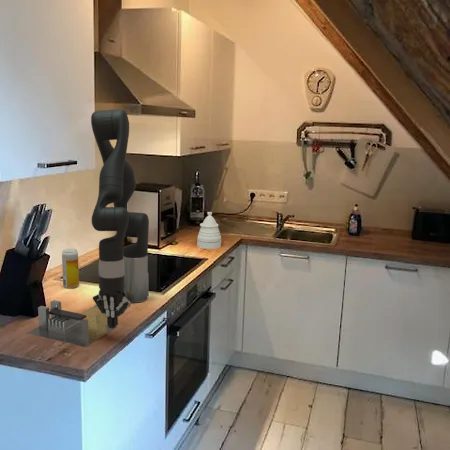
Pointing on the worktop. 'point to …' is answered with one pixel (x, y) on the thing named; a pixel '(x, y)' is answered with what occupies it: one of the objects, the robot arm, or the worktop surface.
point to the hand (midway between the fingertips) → (112, 327)
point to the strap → (66, 314)
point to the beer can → (70, 268)
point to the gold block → (95, 322)
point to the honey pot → (209, 234)
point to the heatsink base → (63, 327)
